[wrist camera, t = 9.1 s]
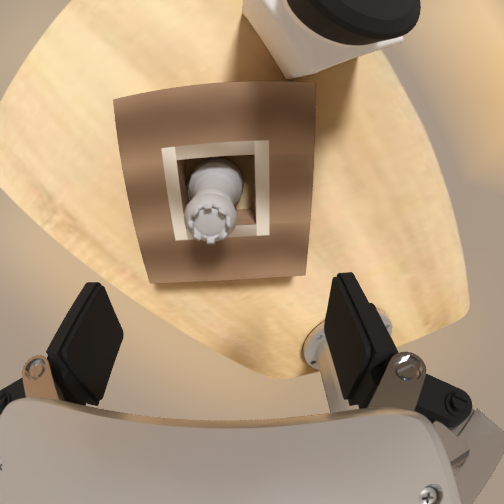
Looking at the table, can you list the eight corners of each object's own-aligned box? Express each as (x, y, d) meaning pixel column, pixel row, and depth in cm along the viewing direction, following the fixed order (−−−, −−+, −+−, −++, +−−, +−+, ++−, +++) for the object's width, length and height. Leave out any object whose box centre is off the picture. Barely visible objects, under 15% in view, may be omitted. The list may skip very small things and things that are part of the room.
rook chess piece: (211, 215, 24) (203, 269, 17) (179, 176, 22) (155, 218, 15) (253, 187, 23) (263, 233, 16) (222, 145, 21) (217, 173, 14)
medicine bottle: (360, 51, 17) (459, 37, 7) (286, 81, 18) (342, 70, 8) (318, -17, 13) (385, -80, 3) (240, 10, 15) (246, -64, 5)
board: (298, 256, 27) (305, 275, 24) (156, 264, 26) (149, 283, 24) (304, 83, 18) (315, 82, 16) (127, 98, 18) (113, 99, 15)
